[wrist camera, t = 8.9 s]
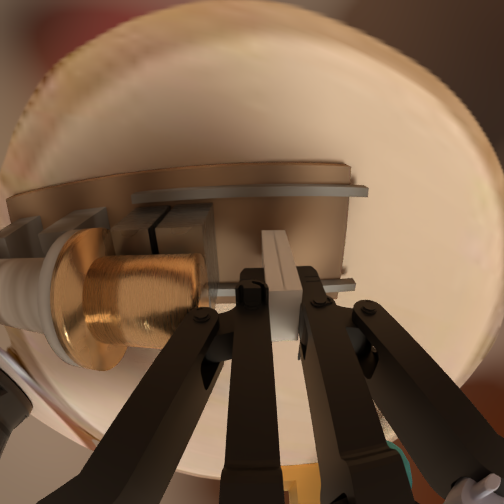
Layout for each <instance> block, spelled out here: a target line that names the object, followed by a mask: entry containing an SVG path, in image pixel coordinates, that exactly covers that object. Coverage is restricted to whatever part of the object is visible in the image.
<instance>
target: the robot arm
mask: <svg viewBox="0 0 504 504" xmlns="http://www.w3.org/2000/svg"><path fill="white" fill-rule="evenodd" d="M235 297H236V306H235V307H234V308H233V309H232V310H230V311H227V312H224V313H220V314H218V313H217V311H216V310H214V309H213V308H210V307H198V308H195V309H192V310H190V311H189V312H188V313H187V314H186V316H185V317H184V319H183V320H182V321H181V323H180V324H179V326H178V327H177V329H176V330H175V331H174V333H173V334H172V336H171V337H170V339H169V340H168V342H167V343H166V344H165V346H164V347H163V349H162V350H161V352H160V353H159V355H158V356H157V357H156V359H155V360H154V362H153V363H152V365H151V366H150V368H149V369H148V371H147V372H146V374H145V375H144V377H143V378H142V379H141V381H140V382H139V384H138V385H137V387H136V388H135V390H134V391H133V393H132V394H131V396H130V397H129V399H128V400H127V402H126V403H125V405H124V406H123V408H122V409H121V411H120V412H119V414H118V415H117V417H116V418H115V420H114V421H113V423H112V424H111V426H110V427H109V429H108V430H107V432H106V433H105V435H104V436H103V438H102V439H101V441H100V443H99V444H98V446H97V447H96V449H95V450H94V452H93V453H92V455H91V457H90V458H89V460H88V461H87V463H86V464H85V466H84V467H83V469H82V470H81V472H80V474H78V475H77V476H76V477H74V478H73V479H71V480H70V481H68V482H67V483H66V484H64V485H63V486H61V487H60V488H58V489H57V490H55V491H54V492H52V493H51V494H49V495H48V496H46V497H45V498H43V499H41V500H40V501H38V502H37V503H36V504H159V503H160V501H161V499H162V497H163V495H164V493H165V491H166V489H167V487H168V485H169V482H170V480H171V478H172V476H173V474H174V472H175V470H176V468H177V466H178V464H179V461H180V459H181V457H182V455H183V453H184V451H185V449H186V446H187V444H188V442H189V440H190V438H191V436H192V434H193V431H194V429H195V427H196V425H197V423H198V420H199V418H200V416H201V414H202V412H203V410H204V407H205V405H206V403H207V401H208V398H209V396H210V394H211V392H212V390H213V387H214V385H215V383H216V381H217V378H218V376H219V374H220V372H221V369H222V367H223V365H224V361H226V360H230V359H232V363H231V377H230V391H229V405H228V419H227V434H226V449H225V464H224V468H223V469H222V473H221V481H220V495H219V504H285V502H284V485H283V474H282V469H281V465H280V451H279V436H278V421H277V406H276V392H275V379H274V365H273V352H272V341H293V340H298V334H299V336H300V345H299V353H298V360H300V358H301V361H302V367H303V372H304V378H305V384H306V389H307V395H308V401H309V407H310V413H311V419H312V425H313V432H314V438H315V444H316V451H317V458H318V465H319V472H320V479H321V490H320V504H419V503H417V502H416V501H414V498H413V494H412V490H411V486H410V483H409V479H408V476H407V473H406V469H405V466H404V463H403V459H402V457H401V455H400V453H399V452H398V451H397V450H396V449H392V448H390V447H389V446H388V444H387V442H386V439H385V436H384V433H383V429H382V426H381V423H380V420H379V417H378V414H377V411H376V408H375V405H374V402H375V404H376V405H377V407H378V408H379V410H380V411H381V413H382V414H383V416H384V417H385V419H386V420H387V422H388V423H389V425H390V426H391V428H392V429H393V431H394V432H395V434H396V435H397V437H398V438H399V439H400V441H401V443H402V444H403V446H404V447H405V449H406V450H407V452H408V453H409V455H410V456H411V458H412V459H413V461H414V462H415V464H416V466H417V467H418V469H419V470H420V472H421V473H422V475H423V476H424V478H425V479H426V481H427V482H428V483H429V485H430V486H431V487H432V488H433V489H434V491H436V493H438V494H439V495H440V496H441V497H442V498H444V499H445V502H444V503H443V504H504V438H503V437H501V436H500V435H498V434H497V433H496V432H495V431H494V429H493V428H492V427H491V426H490V424H489V423H488V422H487V420H486V419H485V418H484V417H483V416H482V415H481V413H480V412H479V411H478V410H477V408H476V407H475V406H474V405H473V404H472V402H471V401H470V400H469V399H468V398H467V397H466V395H465V394H464V393H463V392H462V391H461V390H460V389H459V387H458V386H457V385H456V384H455V383H454V382H453V381H452V380H451V378H450V377H449V376H448V375H447V374H446V373H445V372H444V371H443V370H442V368H441V367H440V366H439V365H438V364H437V363H436V362H435V361H434V360H433V359H432V358H431V356H430V355H429V354H428V353H427V352H426V351H425V350H424V349H423V348H422V347H421V346H420V345H419V344H418V343H417V342H416V341H415V340H414V339H413V337H412V336H411V335H410V334H409V333H408V332H407V331H406V330H405V329H404V328H403V327H402V326H401V325H400V324H399V323H398V322H397V321H396V320H395V319H394V318H393V317H392V316H391V315H390V314H389V313H388V312H387V311H386V310H385V309H384V308H383V307H382V306H381V305H379V304H378V303H377V302H374V301H371V300H360V301H358V302H356V303H355V304H354V307H353V308H346V307H341V306H338V305H336V303H335V301H334V300H333V299H332V298H331V297H330V296H328V295H326V292H325V290H324V287H323V285H322V282H321V280H320V277H319V275H318V273H317V270H316V269H314V268H313V267H312V266H296V265H295V262H294V258H293V255H292V252H291V248H290V245H289V242H288V238H287V235H286V232H285V230H262V268H244V269H243V270H242V271H241V273H240V280H239V283H238V284H237V285H236V287H235ZM373 346H374V347H373ZM372 399H373V400H372ZM373 401H374V402H373ZM31 411H32V405H31V403H30V401H29V400H28V398H27V397H26V396H25V395H24V393H23V392H22V391H21V390H20V389H19V388H18V387H17V386H16V385H15V384H14V383H13V382H12V381H11V380H10V379H9V378H8V377H7V376H6V375H5V374H4V373H3V372H2V371H1V370H0V458H1V455H2V453H3V450H4V448H5V446H6V443H7V441H8V439H9V436H10V434H11V432H12V431H13V429H15V428H16V427H17V426H18V425H19V424H20V423H21V422H22V421H23V420H24V419H25V418H27V417H28V416H29V415H30V413H31Z"/></svg>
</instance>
